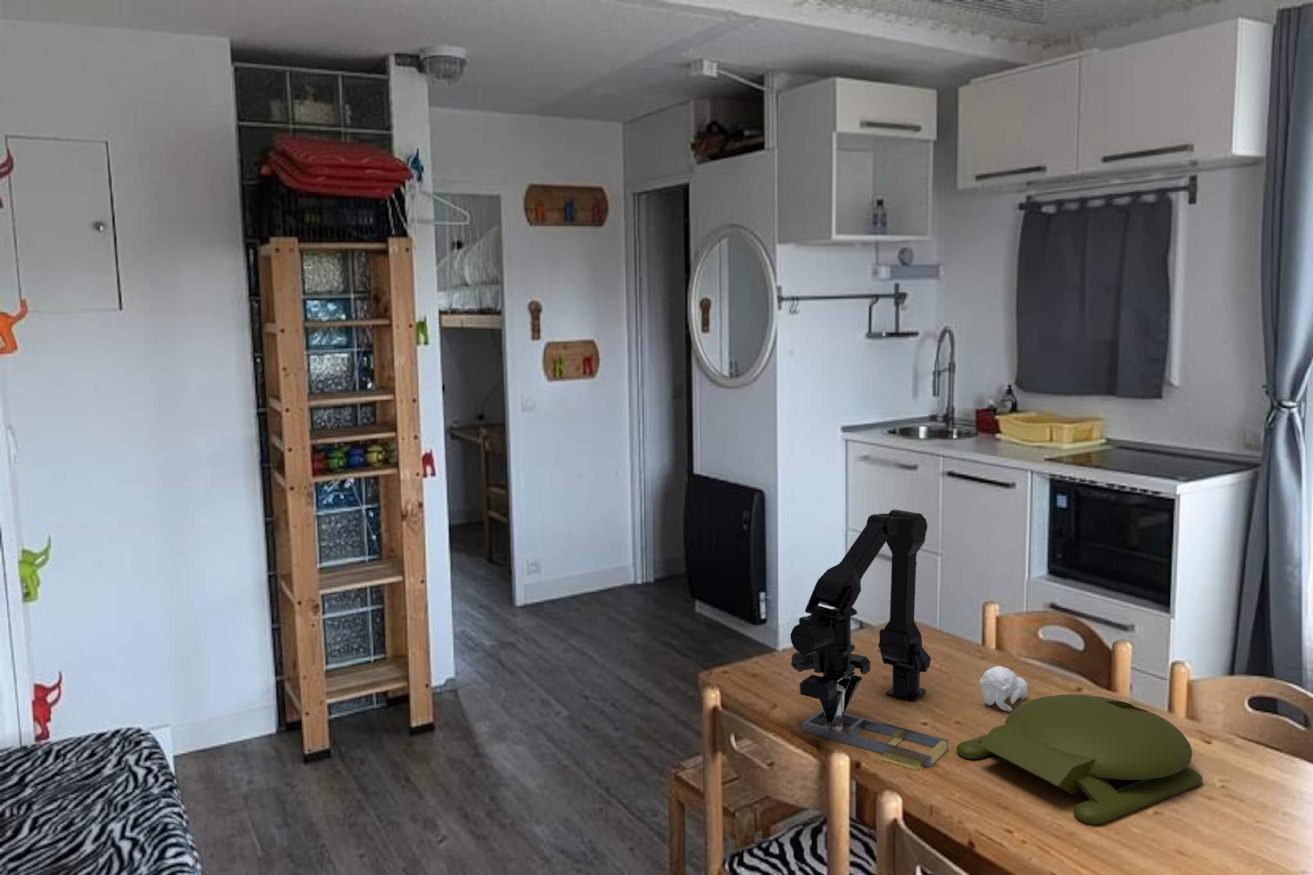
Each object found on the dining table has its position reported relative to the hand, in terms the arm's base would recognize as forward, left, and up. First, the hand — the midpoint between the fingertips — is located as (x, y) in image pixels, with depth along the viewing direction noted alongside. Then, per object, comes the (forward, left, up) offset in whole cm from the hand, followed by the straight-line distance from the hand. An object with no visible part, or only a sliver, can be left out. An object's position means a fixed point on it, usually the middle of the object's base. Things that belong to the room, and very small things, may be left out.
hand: (835, 717), depth 189 cm
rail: (0, +8, -2) cm, 8 cm away
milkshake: (0, 0, -3) cm, 3 cm away
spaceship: (-13, +43, -3) cm, 45 cm away
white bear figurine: (-31, +23, -3) cm, 39 cm away
